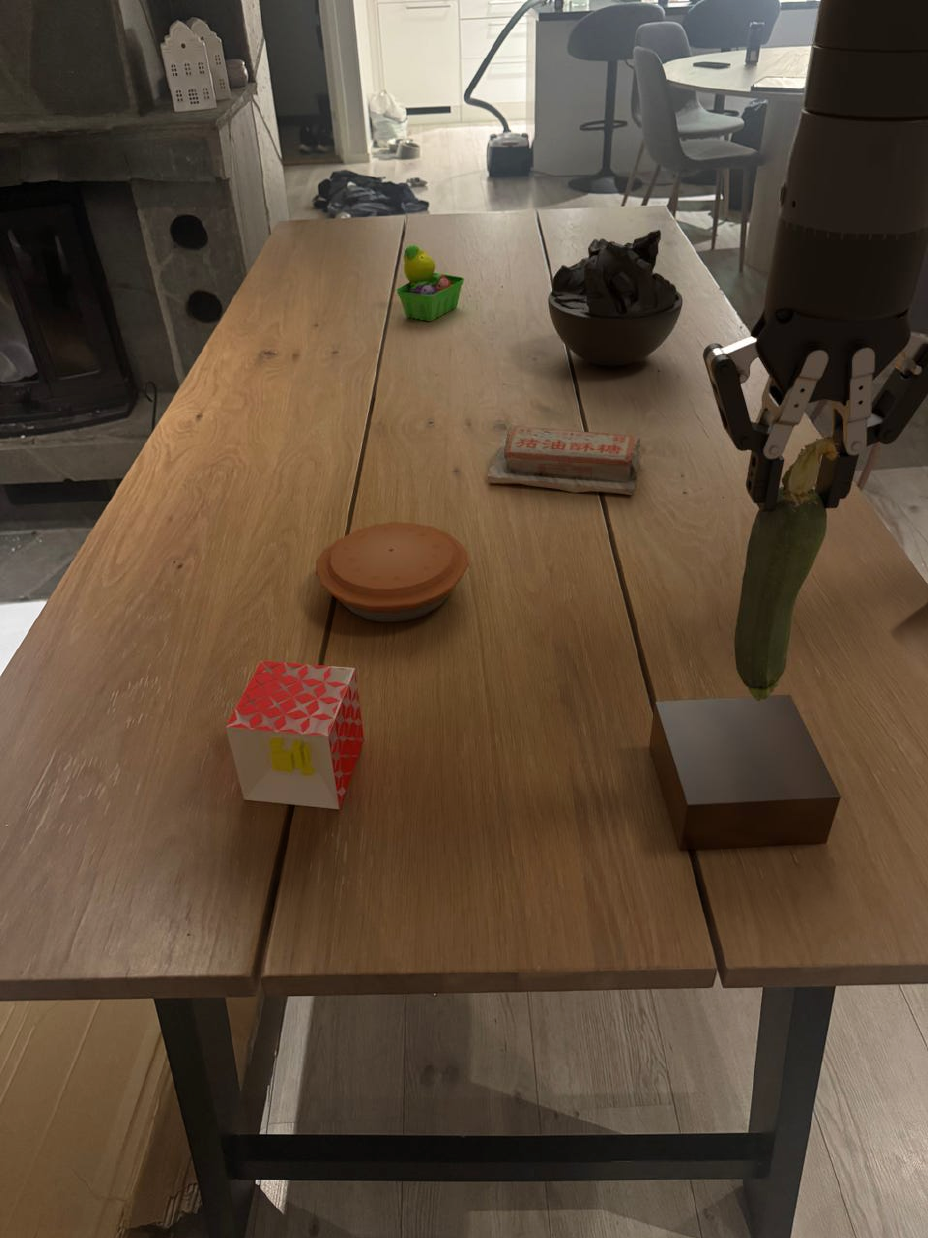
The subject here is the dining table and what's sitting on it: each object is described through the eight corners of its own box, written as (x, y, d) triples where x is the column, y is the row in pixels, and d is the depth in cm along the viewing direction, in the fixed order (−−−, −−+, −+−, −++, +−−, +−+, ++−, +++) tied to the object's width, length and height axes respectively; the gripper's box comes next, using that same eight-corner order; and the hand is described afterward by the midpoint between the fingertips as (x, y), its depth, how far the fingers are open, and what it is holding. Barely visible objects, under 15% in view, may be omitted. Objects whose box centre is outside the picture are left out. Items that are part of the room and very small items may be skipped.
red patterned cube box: (243, 799, 74) (225, 727, 69) (275, 731, 80) (260, 660, 75) (340, 809, 73) (329, 736, 68) (365, 739, 79) (355, 668, 74)
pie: (500, 588, 96) (500, 548, 93) (386, 657, 88) (382, 614, 85) (402, 535, 105) (399, 496, 102) (290, 592, 97) (283, 552, 94)
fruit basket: (432, 325, 160) (429, 258, 154) (390, 317, 164) (385, 251, 158) (466, 306, 168) (465, 241, 161) (426, 299, 172) (422, 235, 165)
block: (779, 739, 77) (790, 694, 74) (826, 843, 69) (841, 796, 66) (648, 746, 77) (654, 701, 74) (679, 851, 68) (687, 805, 65)
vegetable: (711, 685, 67) (755, 430, 55) (748, 660, 69) (798, 409, 57) (763, 716, 64) (820, 455, 52) (799, 689, 66) (863, 432, 54)
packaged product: (644, 425, 115) (637, 462, 108) (641, 460, 118) (633, 498, 110) (502, 414, 119) (485, 449, 111) (502, 448, 122) (486, 485, 114)
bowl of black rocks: (554, 389, 137) (558, 257, 126) (540, 340, 153) (543, 220, 142) (688, 383, 137) (704, 252, 126) (661, 336, 153) (673, 215, 142)
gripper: (739, 234, 44) (696, 541, 54) (1032, 220, 44) (933, 529, 55) (700, 197, 50) (668, 480, 60) (958, 185, 50) (882, 469, 61)
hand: (794, 502), depth 57 cm, fingers closed on vegetable, 3 cm apart
